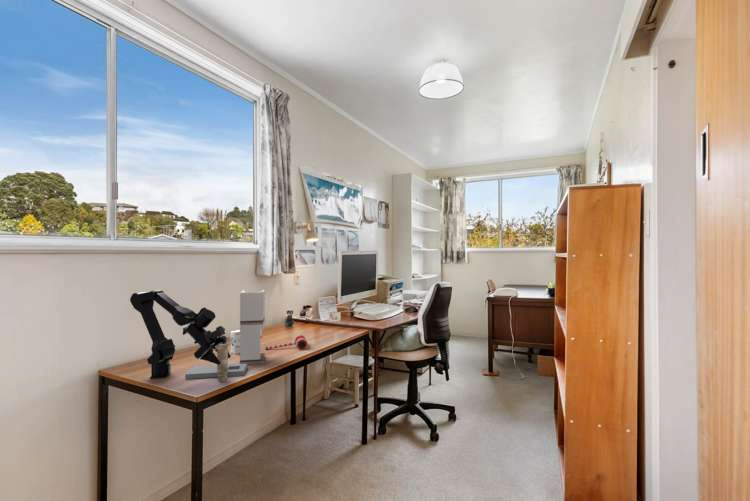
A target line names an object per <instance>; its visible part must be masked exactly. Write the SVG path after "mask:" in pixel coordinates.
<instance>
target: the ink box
mask: <svg viewBox="0 0 750 501" xmlns="http://www.w3.org/2000/svg"><path fill="white" fill-rule="evenodd" d="M230 353H231V354H233V355H238V354H240V329H237V330H231V331H230Z"/></svg>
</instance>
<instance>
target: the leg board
mask: <svg viewBox="0 0 750 501" xmlns="http://www.w3.org/2000/svg"><path fill="white" fill-rule="evenodd" d="M247 369H248V364H240V363H236V364H235V363H233V364H232V363H231V364H228V373H227V377H238V376H239V377H240V376H241V377H243V376H244V375H245V374H246V372H247ZM208 378H218V374H217V364H214V365H213V364H211V365H197V366H196V365H195V366H192V367H191V368H190V369H189V370H188V371H187V372H186V373H185V375H184V379H185V380H191V379H194V380H195V379H208Z"/></svg>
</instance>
